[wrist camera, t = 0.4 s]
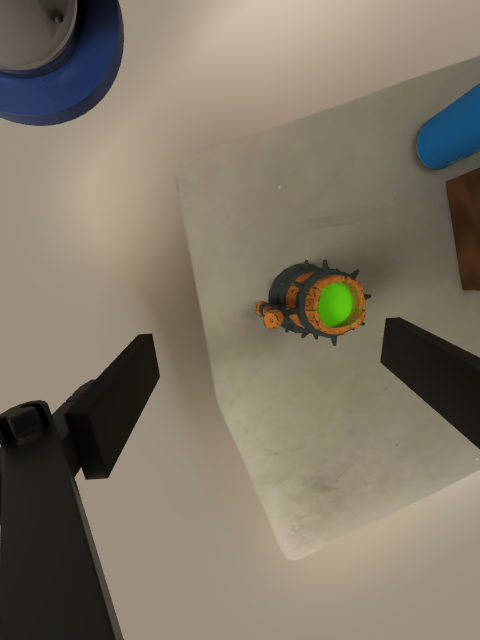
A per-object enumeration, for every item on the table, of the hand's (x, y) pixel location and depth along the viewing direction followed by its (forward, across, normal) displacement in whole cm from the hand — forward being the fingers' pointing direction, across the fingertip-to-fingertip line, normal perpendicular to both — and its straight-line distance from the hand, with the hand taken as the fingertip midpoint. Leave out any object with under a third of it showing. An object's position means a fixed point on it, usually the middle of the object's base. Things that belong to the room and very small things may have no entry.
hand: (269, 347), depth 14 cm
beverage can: (+27, +27, +16) cm, 41 cm away
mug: (+22, +6, -3) cm, 23 cm away
